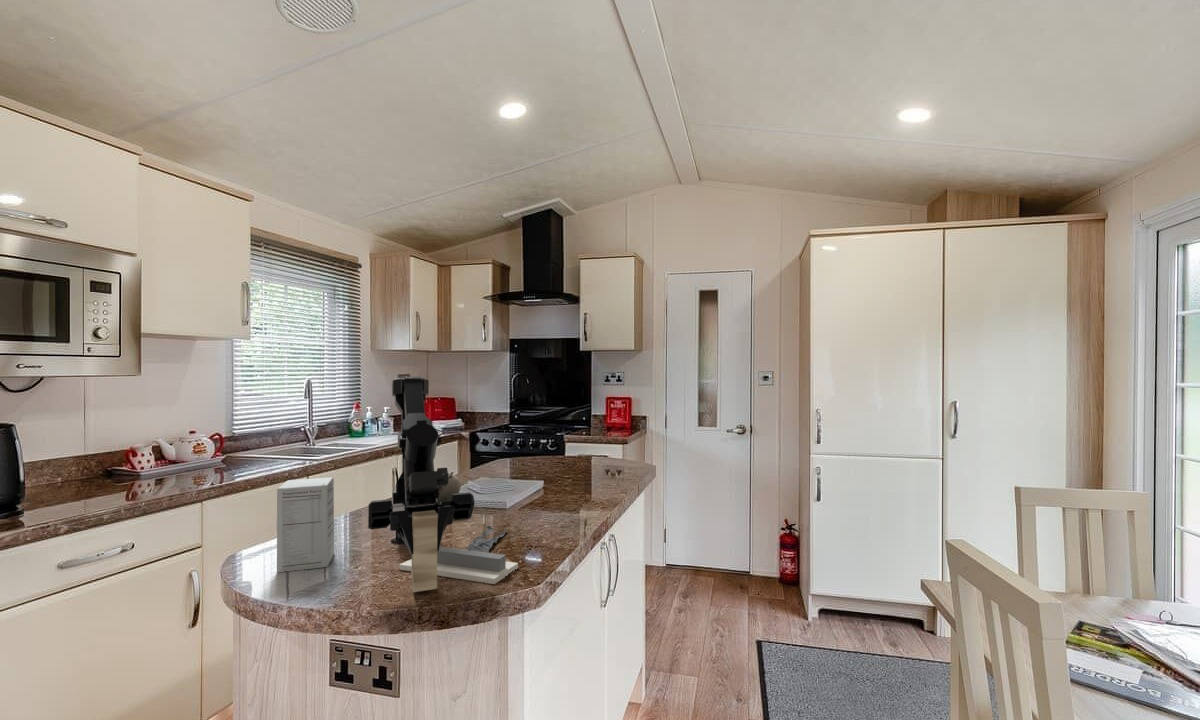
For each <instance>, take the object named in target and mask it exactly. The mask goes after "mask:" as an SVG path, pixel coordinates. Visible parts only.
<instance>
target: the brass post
mask: <svg viewBox="0 0 1200 720" xmlns="http://www.w3.org/2000/svg"><path fill="white" fill-rule="evenodd" d="M437 517H438V516H437V514H436V512H435V510H431V511H421V512H412V539H413V555H411V559H412V571H411V588H412V592H413V593H417V592H424V591H431V590H436V589H438V575H437Z"/></svg>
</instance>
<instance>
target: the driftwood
mask: <svg viewBox="0 0 1200 720" xmlns="http://www.w3.org/2000/svg"><path fill="white" fill-rule="evenodd" d="M506 531H507V530H506V529H504V530H503V531H502V532H501V533H500V534H498V535H495V536H494V537H492V538H489V539H487V538H485V536H487V535H490V534H491V533H492V532H494V527H492V526H491V525H486V526H485V530H483V531H482V532H481V534H480V535H479V536H476V537H475V539H474V540H472V541H471V543H469V544H468V545H467V547H466V549H465V550H471V551H479V552H486V553H490V549H491V548H492V547H493V544H494V545H496V544H497V541H498V540H499V538H502V537H504V536H505V534H507V532H506ZM495 532H500V531H498V530H495Z"/></svg>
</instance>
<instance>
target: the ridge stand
mask: <svg viewBox="0 0 1200 720" xmlns="http://www.w3.org/2000/svg"><path fill="white" fill-rule="evenodd" d="M515 569H516V570H518V569H519V562H513V561H506V554H499V553H493V552H492V553H491V552H489V553H486V552H479V551H471V550H467V549H463V548H457V547H456V548H454V547H449V546H447V547H446V546H440V548H439V551H437V577H438V576H439V577H445V578H450V579H451V578H452V579H459V580H464V581H465V580H466V581H471V582H477V583H483V582H484V584H491V585H495V584H497V583H498V582H500V581H501V580H503V579H504V578H506V577H507V576H509V575H510V574H511V573H510V572H512V571H513V570H514V571H516V570H515ZM399 570H400V571H406V572H412V558H411V559H408V560H406V561H404V562H402V563H400V564H399ZM514 571H513V572H514ZM513 572H512V573H513ZM509 573H510V574H509ZM508 574H509V575H508ZM505 576H506V577H505Z"/></svg>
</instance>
